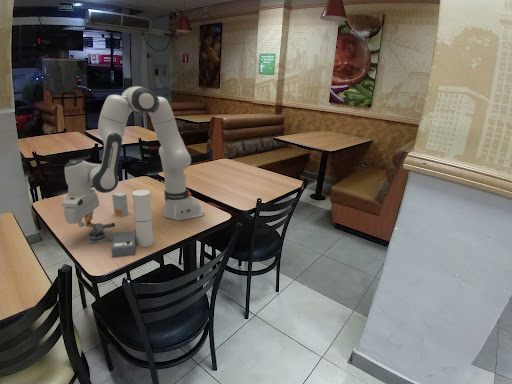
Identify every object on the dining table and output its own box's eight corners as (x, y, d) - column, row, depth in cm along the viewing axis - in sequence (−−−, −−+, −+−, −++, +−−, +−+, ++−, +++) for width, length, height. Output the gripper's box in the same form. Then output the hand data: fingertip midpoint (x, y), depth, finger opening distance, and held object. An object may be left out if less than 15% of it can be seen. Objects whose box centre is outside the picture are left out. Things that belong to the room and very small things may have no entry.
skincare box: (114, 214, 164) (111, 194, 160) (119, 211, 168) (117, 191, 164) (123, 216, 162) (120, 196, 158) (128, 213, 166) (126, 193, 162)
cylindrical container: (133, 244, 138) (128, 193, 129) (144, 237, 144) (140, 188, 135) (146, 248, 135) (142, 196, 126) (156, 241, 142) (153, 191, 133)
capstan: (100, 226, 150) (97, 208, 147) (117, 232, 146) (115, 214, 142) (74, 237, 139) (71, 218, 136) (92, 244, 134) (89, 225, 131)
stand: (136, 228, 152) (135, 218, 149) (135, 254, 130) (134, 242, 128) (88, 232, 145) (87, 222, 143) (78, 260, 124) (76, 248, 122)
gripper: (87, 187, 145) (92, 212, 150) (59, 204, 126) (65, 233, 132) (100, 187, 145) (104, 213, 150) (73, 205, 126) (79, 234, 131)
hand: (86, 223), depth 141 cm, fingers open, 5 cm apart
